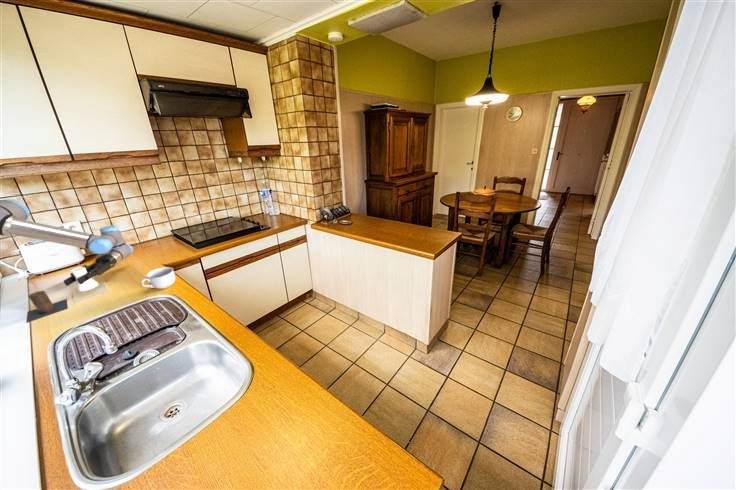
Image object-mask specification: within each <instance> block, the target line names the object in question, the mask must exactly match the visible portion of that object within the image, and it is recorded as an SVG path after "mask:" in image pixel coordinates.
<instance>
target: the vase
mask: <svg viewBox="0 0 736 490" xmlns="http://www.w3.org/2000/svg"><path fill="white" fill-rule="evenodd" d="M70 273H72V274H73V275H74V277H75V279H76V281H75V282H76V289H75V291H78V292H82V291H86V290H90V289H92V288H94V287H96V286H98V284H99V282H98V281H96V280H95V279H93V277H92V278H90V279H89V280H87V281H86V282H84V283H82V284H79V282H78V280H77V279H78V278H80V277H81V276H83V275H84V274H86V273H87V271H86V269H85V267H82V266H79V267H76V268H73V269H71V270H70Z"/></svg>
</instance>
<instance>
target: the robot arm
mask: <svg viewBox="0 0 736 490" xmlns="http://www.w3.org/2000/svg"><path fill="white" fill-rule="evenodd" d="M30 212H31V211H30V210H29V208H28V206H26V205H25V204H24V203H22V202H20V201H18V200H15V199H7V198H6V199H0V236H5V237H9V236H18V237H23V238H28V239H34V240H39V241H44V242H48V243H49V242H50V243H55V244H58V245H59V244H60V245H64V246H65V245H66V246H71V247H76V248H80V249H81V248H82V249H87V250H90V252H91V253H93V254H95V255H100V256H98V257H96V258H95V260H94V262H93V263H91V264H89V265H87V264H83V265H82V266H81V267H85V269H86V271H87V273H86V274H84V275H83V276H81V277H80V278H78V279H77V280H78V282H79V284H82V283H84V282H86V281H87V280H89V279H90V278H92V279H93V277H96V276H101V275H103V274H105V273H106V272H108V271H109V270H111V269H112V268H115V267H116V266H117V264H119V263H120V262H122V261H123V260H125V259H127V258H129V256H131V255H132V254H133V253H134V247H133V246H132V245H131V244H129V243H126V241H125V239H124V237H123V235H122V232H121V229H119V227H118V225H107V226H103V227H101V228H99V231H100V235H97V234H93V233H88V232H82V231H79V230H73V229H70V228H64V227H60V226H54V225H49V224H45V223H41V222H36V221H31V220H28V219H29V218H30V215H31V213H30ZM75 282H76V279H75V277H74V275H73V274H72V272H70V276H69V277H67V278H65V279H63V283H64V285H65V286H66V287H69V286H71V285H72V284H74V283H75Z"/></svg>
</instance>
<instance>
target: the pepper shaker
mask: <svg viewBox="0 0 736 490" xmlns="http://www.w3.org/2000/svg"><path fill="white" fill-rule="evenodd" d="M27 297H28V298H29V300H30V301H31V303H32V304H33V306H34V307H35V309H37V310H38V312H39V313H40V314H46V313H49V312H51V311H53V310H55V307H54V305H53V302H52V300H51V299H50V297H49V296H48V294H47V292H46V291H45V290H38V291H35V292H32V293H30V294H29V295H28V296H27Z"/></svg>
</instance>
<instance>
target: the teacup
mask: <svg viewBox="0 0 736 490" xmlns="http://www.w3.org/2000/svg"><path fill="white" fill-rule="evenodd" d="M176 279H177V278H176V274H175V271H174V268H173V267H171V266H162V267H158V268H155V269H152V270H150V271H149V272H147V273H146V277H145V278H142V279H141V280H140V285H141V287H144V288H150V289H153V288H154V289H157V290H164V289H168V288H170V287H171V286H172V285H173V284H174V283H175V282H176ZM145 281H147V282H148V283H149V284H144V283H145Z"/></svg>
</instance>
